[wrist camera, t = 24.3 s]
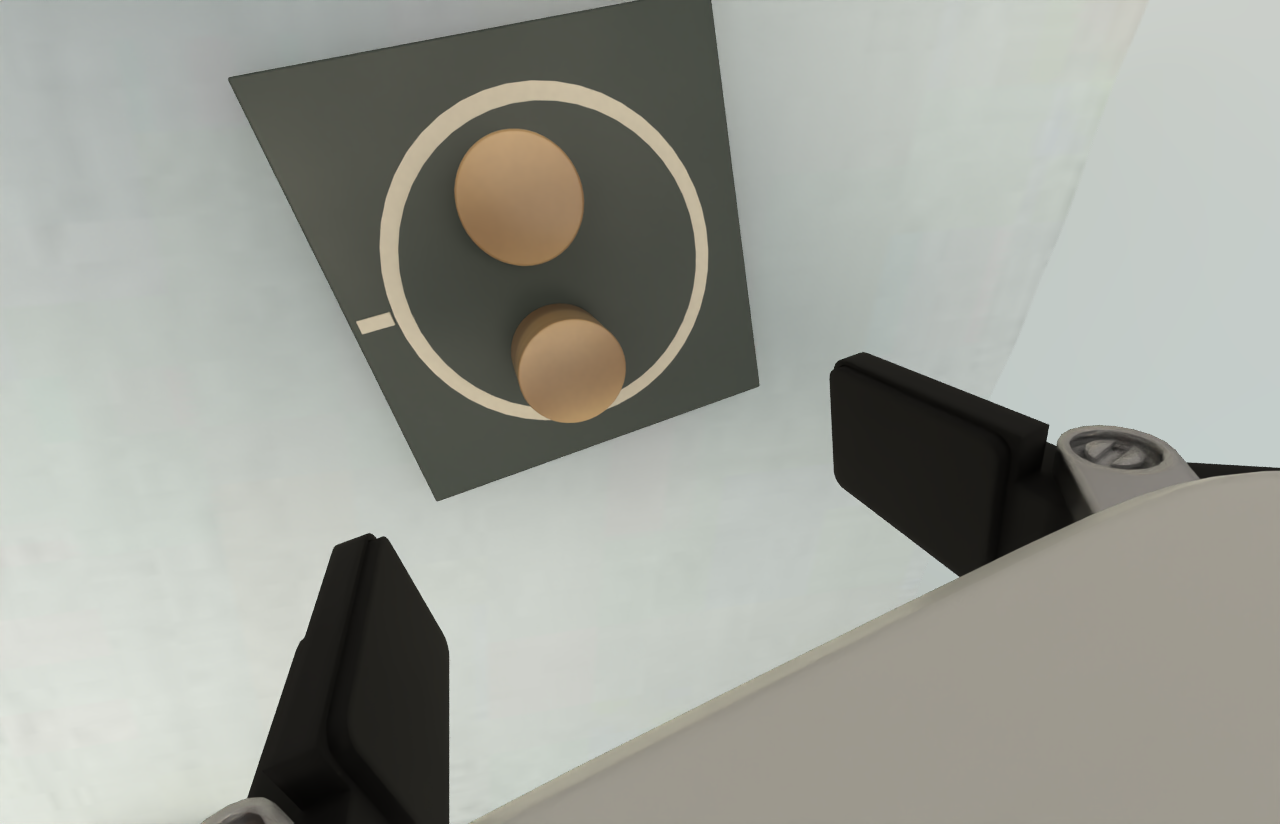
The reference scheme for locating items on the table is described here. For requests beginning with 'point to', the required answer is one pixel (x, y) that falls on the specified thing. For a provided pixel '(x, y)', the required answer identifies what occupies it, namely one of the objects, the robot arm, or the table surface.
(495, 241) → the tan cork puck
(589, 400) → the tan cork stopper
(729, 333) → the slate board
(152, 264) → the table surface
